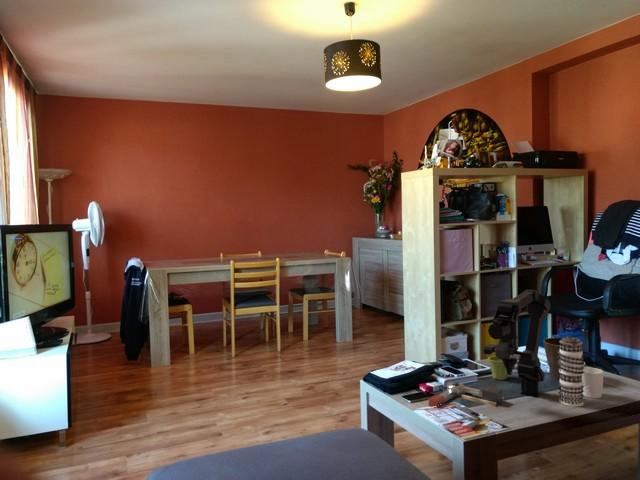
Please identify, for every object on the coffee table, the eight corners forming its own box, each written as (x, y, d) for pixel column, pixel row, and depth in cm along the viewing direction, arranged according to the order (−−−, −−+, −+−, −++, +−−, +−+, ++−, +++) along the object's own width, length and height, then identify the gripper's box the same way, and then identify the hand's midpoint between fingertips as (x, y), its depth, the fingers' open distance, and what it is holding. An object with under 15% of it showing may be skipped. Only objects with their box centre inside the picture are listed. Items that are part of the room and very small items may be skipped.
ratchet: (483, 396, 203) (483, 386, 203) (457, 413, 187) (457, 402, 187) (452, 388, 213) (452, 379, 212) (424, 404, 196) (424, 393, 196)
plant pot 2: (552, 370, 233) (552, 335, 232) (586, 377, 222) (586, 341, 221) (537, 377, 223) (537, 342, 222) (573, 385, 212) (573, 348, 211)
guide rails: (503, 400, 198) (503, 397, 198) (495, 406, 192) (495, 403, 192) (470, 392, 207) (470, 389, 207) (461, 398, 202) (461, 395, 202)
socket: (502, 402, 197) (502, 389, 197) (496, 405, 193) (496, 393, 193) (487, 398, 201) (487, 386, 201) (481, 402, 197) (481, 389, 197)
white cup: (602, 393, 203) (602, 368, 202) (604, 399, 196) (604, 374, 195) (580, 390, 206) (580, 366, 206) (581, 397, 199) (581, 372, 198)
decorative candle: (554, 397, 199) (553, 335, 198) (578, 398, 198) (578, 335, 197) (562, 406, 190) (562, 341, 189) (588, 407, 189) (588, 341, 188)
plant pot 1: (486, 374, 230) (486, 355, 229) (508, 374, 229) (508, 355, 228) (490, 381, 221) (490, 361, 220) (513, 381, 219) (513, 361, 219)
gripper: (476, 334, 191) (476, 375, 192) (525, 342, 179) (526, 385, 179) (488, 329, 199) (489, 368, 200) (537, 336, 187) (537, 377, 188)
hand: (509, 374), depth 192 cm, fingers closed
